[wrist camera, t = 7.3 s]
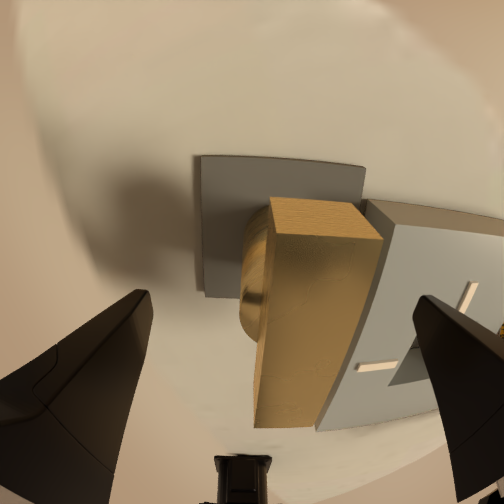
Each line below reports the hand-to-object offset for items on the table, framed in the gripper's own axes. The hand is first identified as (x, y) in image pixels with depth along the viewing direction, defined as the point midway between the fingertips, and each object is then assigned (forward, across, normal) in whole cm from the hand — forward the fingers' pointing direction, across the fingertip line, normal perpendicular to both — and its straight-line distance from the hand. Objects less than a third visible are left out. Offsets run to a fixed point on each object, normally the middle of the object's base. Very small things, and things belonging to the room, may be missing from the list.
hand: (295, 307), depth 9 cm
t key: (+5, 0, 0) cm, 5 cm away
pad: (+5, 0, 0) cm, 5 cm away
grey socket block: (+5, -10, +6) cm, 13 cm away
